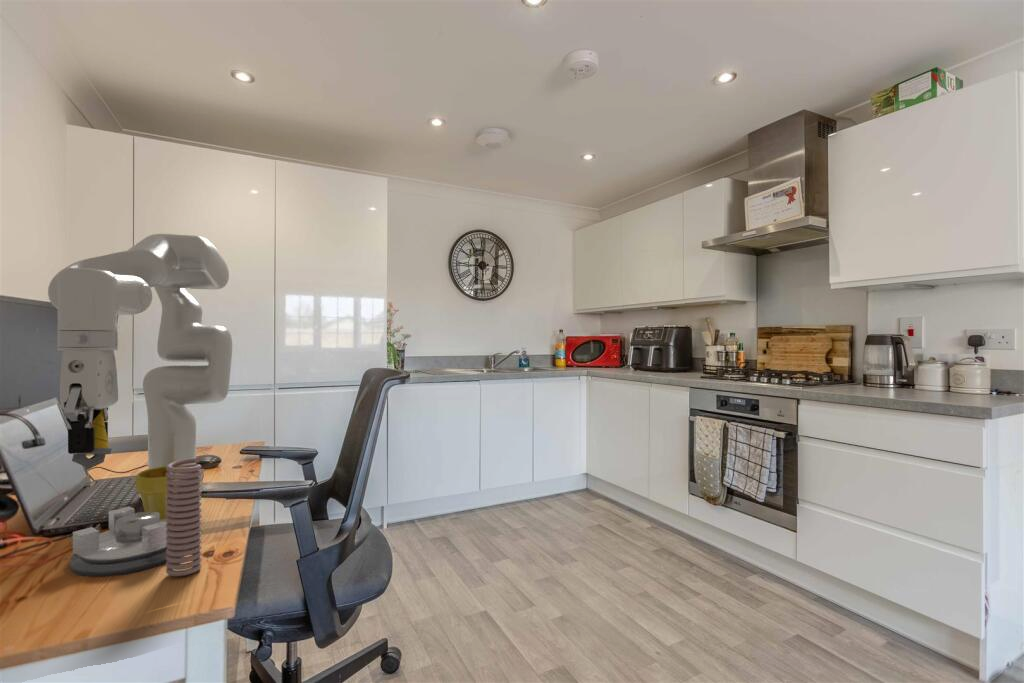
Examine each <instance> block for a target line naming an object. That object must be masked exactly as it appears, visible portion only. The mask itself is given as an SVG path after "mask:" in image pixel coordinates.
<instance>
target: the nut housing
mask: <svg viewBox="0 0 1024 683" xmlns="http://www.w3.org/2000/svg"><path fill="white" fill-rule="evenodd" d="M186 544H189V543H186ZM183 545H184V544H183ZM187 550H191V549H187ZM187 550H183V551H187ZM166 556H167V553H166V550H164V551H161V552H158V553H155V554H152V555H149V556H145V557H141V558H137V559H132V560H127V561H121V562H113V563H89V562H84V561H82V560H81V559H79V556H78V555H77V554H75V553H74V552H73V553H72V556H71V558H70V562H69V563H70V571H71V572H72V573H73V574H75V575H76V576H77V575H78V576H81V577H90V578H91V577H92V578H96V577H97V578H99V577H101V578H103V577H104V578H106V577H116V576H124V575H129V574H134V573H138V572H142V571H145V570H149V569H153V568H155V567H159V566H161V565H166V562H167V560H166Z"/></svg>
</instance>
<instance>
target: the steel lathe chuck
mask: <svg viewBox="0 0 1024 683" xmlns="http://www.w3.org/2000/svg"><path fill="white" fill-rule="evenodd" d="M173 512H175V511H173ZM166 524H167V521H166V519H162V520H160V514H159V512H155V511H147V512H145V511H140V512H139V511H138V512H135V508H133V507H132V506H125V507H121V508H117V509H113V510H108V530H106V531H105V530H104V532H100V530H98V529H97V528H95V527H92V526H91V527H87V528H83V529H80V530H76V531H72V552H73V553H75V554H77V555H78V556H79V559H81V560H82V561H84V562H89V563H113V562H121V561H127V560H132V559H137V558H141V557H145V556H149V555H152V554H155V553H158V552H161V551H164V550H166V549H167V547H166V543H167V541H166V536H167V534H166V530H167V528H166ZM172 525H173V524H172ZM190 531H191V530H190ZM186 538H188V537H186ZM172 544H173V543H172Z"/></svg>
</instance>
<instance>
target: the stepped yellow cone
mask: <svg viewBox="0 0 1024 683" xmlns="http://www.w3.org/2000/svg"><path fill="white" fill-rule="evenodd" d="M92 427H95V450H94V451H92V452H87V453H75V454H72V455H73V456H72V459H71V461H72V462H73V463H76V464H77V465H80V466H82V467H85V471H89V470H90V469H92V468H95V467H97V466H98V465H101V464H103V463H105V459H106V455H111V454H112V450H113V448H110V444H109V438H108V439H107V434H106V429H105V423H104V418H103V413H102V411H101V412H100V413H99V414H98V416H97V417H96V418H95V420H94V421H93V422H92ZM92 427H91V428H92ZM87 454H88V455H92V456H91V457H89V458H88V457H87Z"/></svg>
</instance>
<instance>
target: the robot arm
mask: <svg viewBox="0 0 1024 683" xmlns="http://www.w3.org/2000/svg"><path fill="white" fill-rule="evenodd" d="M229 277H230V271H229V267H228V265H227V262H226V261H225V259H224V258H223V257H222V255H221V254H220V252H219V251H218V249H217V247H215V245H214V244H213V243H212V242H210V241H209V239H207V238H205V237H203V236H200V235H189V234H173V233H171V234H170V233H154V234H151V235H148V236H146V237H145V238H143V239H142V240H140V241H139V242H137V243H136V244H134V245H133V246H132V247H130V248H128V249H127V250H123V251H119V252H113V253H108V254H103V255H100V256H95V257H89V258H86V259H85V258H84V259H81V260H79V261H75V262H73V263H71V264H69V265H68V266H66V267H64V268H62V269H61V270H60V271H58V273H55V275H54V276H53V277H52V279H51V280H50V282H49V285H48V288H47V296H48V299H49V302H50V303H51V305H52V306H53V307H54V308H55V309H57V352H59V351H62V356H61V368H60V377H59V378H60V382H59V401H60V408H61V409H62V410H64V411H63V413H64V415H65V417H66V421H67V424H66V428H67V453H68V454H70V455H71V454H72V455H74V454H81V453H87V452H92V451H94V450H95V427H92V422H93V421H94V420H95V418H96V417H97V416H98V414H99V413H100V412H101V411H102V413H103V418H104V423H105V429H106V434H107V439H108V440H109V422H108V421H109V415H108V410H109V407H110V406H113V405H115V404H117V402H118V401H119V386H118V370H117V362H116V356H115V351H118V345H119V344H118V337H119V336H118V335H119V334H118V316H119V315H120V316H122V315H123V316H130V315H138V314H141V313H144V312H145V311H146V310H148V309H149V307H150V306H151V304H152V301H153V292H152V289H151V288H154V290H155V292H156V295H157V296H158V299H159V301H160V304H161V317H160V324H159V330H158V337H157V347H156V349H157V354H158V357H159V358H160V359H161V360H163V361H166V362H171V363H208V364H207V365H164V366H163V365H162V366H158V367H155V368H153V369H150V370H149V371H148V372H147V373H146V374H144V377H143V379H142V391H143V395H144V400H145V404H146V405H145V406H146V410H147V411H146V412H147V470H148V469H151V468H156V467H162V466H167V465H168V464H170V463H172V462H175V461H179V460H183V459H189V458H197V421H196V418H195V416H194V414H192V412H191V411H190V409H189V408H187V406H185V405H199V404H200V405H201V404H202V405H203V404H217V403H221V402H223V401H224V400H225V399H226V397H227V396H228V393H229V388H230V379H231V368H232V367H231V366H232V358H233V339H232V334H231V332H230V331H229V330H228V329H227V327H225V326H222V325H216V324H214V325H213V324H202V321H203V320H202V317H203V309H202V306H201V305H200V303H199V302H198V301H197V300H196V299H195V297H194V296H193V295H192V294H190V293H189V292H188V291H187V289H188V290H190V289H191V290H213V291H214V290H220V289H223V288H224V287H226V285H228V282H229V279H230V278H229ZM91 427H92V428H91ZM190 464H197V463H188V464H182V465H190ZM140 497H141V495H140V494H139V498H140Z"/></svg>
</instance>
